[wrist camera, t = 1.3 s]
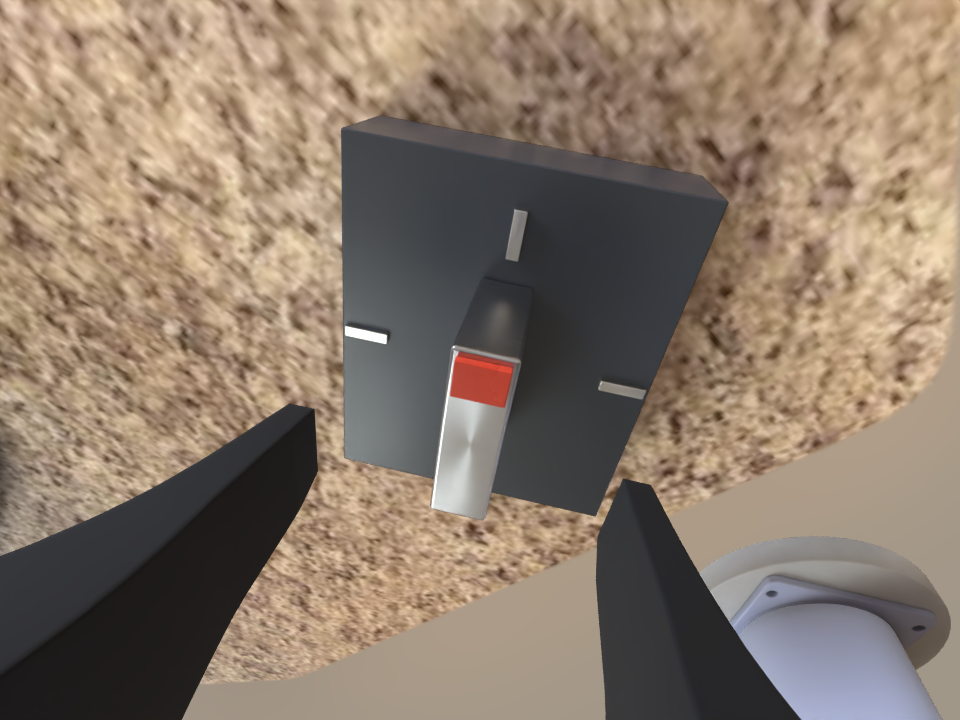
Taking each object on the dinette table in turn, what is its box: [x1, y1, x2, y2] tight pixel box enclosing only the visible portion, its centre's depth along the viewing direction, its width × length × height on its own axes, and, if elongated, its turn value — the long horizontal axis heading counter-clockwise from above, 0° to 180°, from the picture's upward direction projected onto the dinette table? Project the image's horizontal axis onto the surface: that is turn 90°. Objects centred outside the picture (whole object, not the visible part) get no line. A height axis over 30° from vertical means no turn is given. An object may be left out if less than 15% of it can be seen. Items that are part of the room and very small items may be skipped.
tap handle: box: [430, 278, 534, 520], centre depth 14 cm, size 6×2×4 cm, turn 171°
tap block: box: [341, 115, 728, 516], centre depth 17 cm, size 12×10×3 cm
